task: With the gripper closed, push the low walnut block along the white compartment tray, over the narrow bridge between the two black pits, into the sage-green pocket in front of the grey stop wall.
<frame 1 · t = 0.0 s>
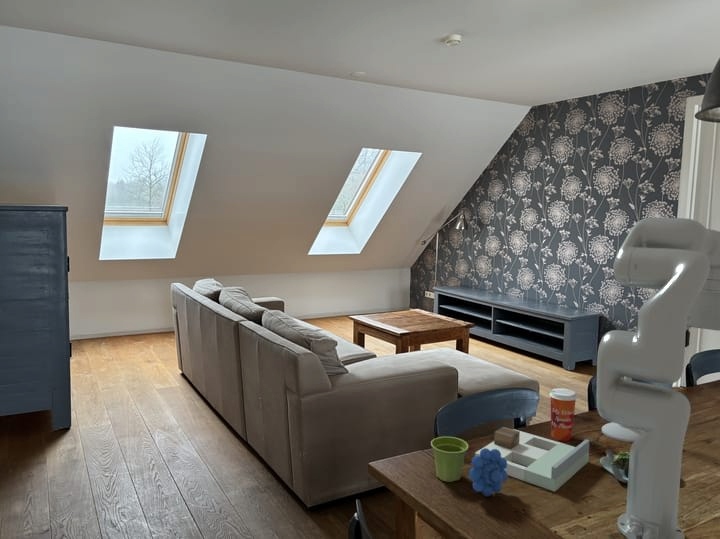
hand: (706, 349, 148), 31 cm above the table, tool pointing down, fingers open, 9 cm apart
plant pot: (448, 477, 142), on the table
grapes: (490, 498, 132), on the table
white compartment tray: (531, 462, 150), on the table
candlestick: (624, 434, 170), on the table
paper cup: (561, 437, 167), on the table
salad plate: (638, 475, 145), on the table
block: (506, 443, 155), point 3 cm above the table, touching white compartment tray
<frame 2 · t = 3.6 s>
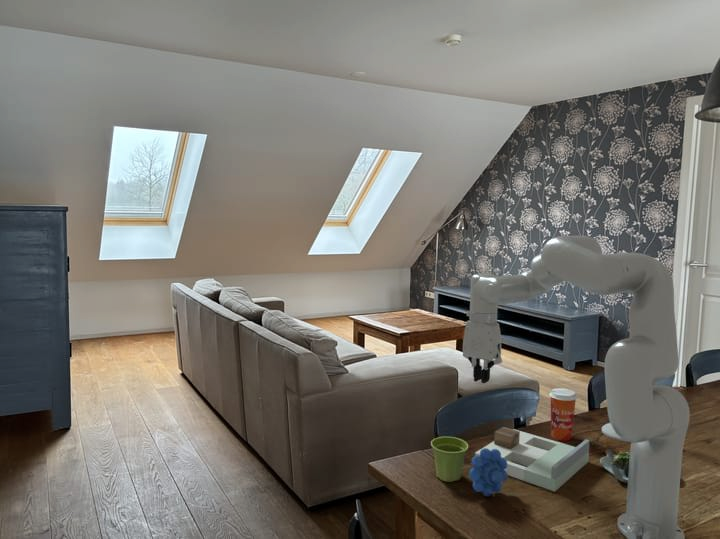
hand: (481, 380, 159), 19 cm above the table, tool pointing down, fingers closed
nothing on the table moved.
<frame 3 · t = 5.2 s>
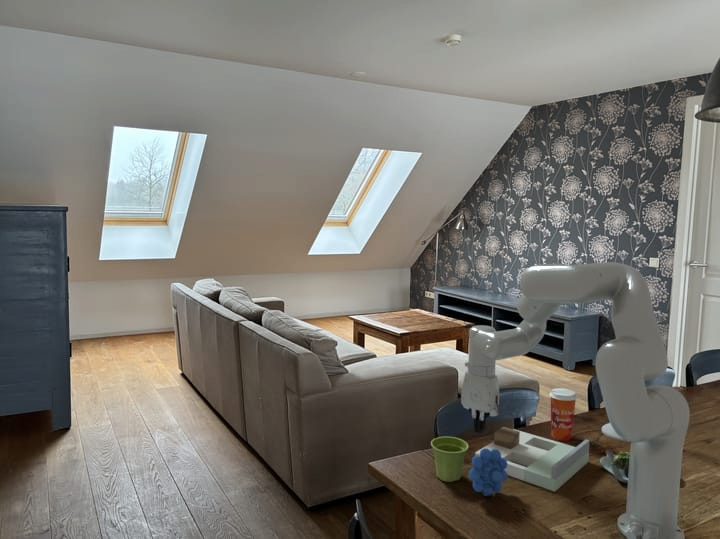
hand: (479, 431, 161), 4 cm above the table, tool pointing down, fingers closed
nothing on the table moved.
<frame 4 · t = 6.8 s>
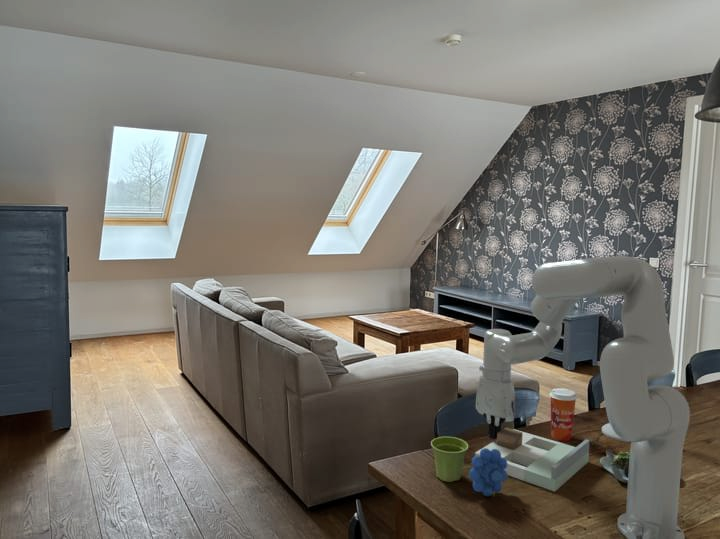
hand: (494, 437, 158), 4 cm above the table, tool pointing down, fingers closed
block: (509, 444, 155), point 3 cm above the table, touching gripper
everything else where it was.
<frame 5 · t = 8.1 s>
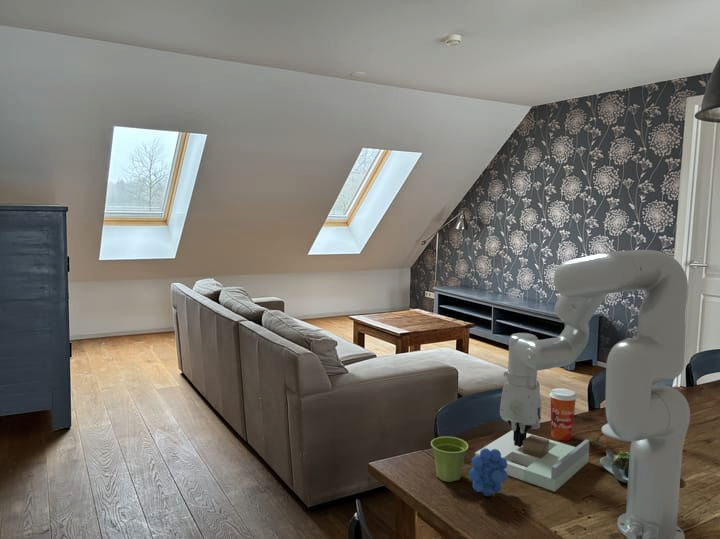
hand: (519, 444, 153), 4 cm above the table, tool pointing down, fingers closed
block: (535, 452, 150), point 3 cm above the table, touching white compartment tray, gripper
everything else where it was.
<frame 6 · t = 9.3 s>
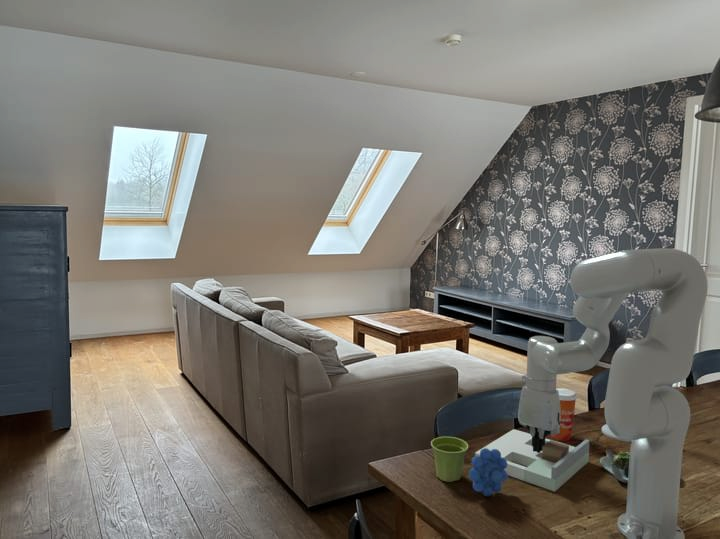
hand: (538, 450, 149), 4 cm above the table, tool pointing down, fingers closed
block: (555, 458, 146), point 3 cm above the table, touching white compartment tray, gripper
everything else where it was.
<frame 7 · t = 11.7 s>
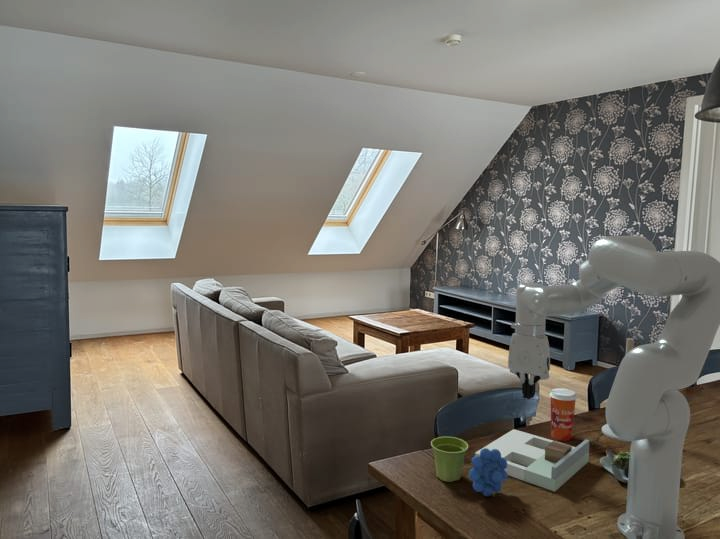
hand: (528, 397, 150), 18 cm above the table, tool pointing down, fingers closed
block: (557, 459, 146), point 3 cm above the table, touching white compartment tray
everything else where it was.
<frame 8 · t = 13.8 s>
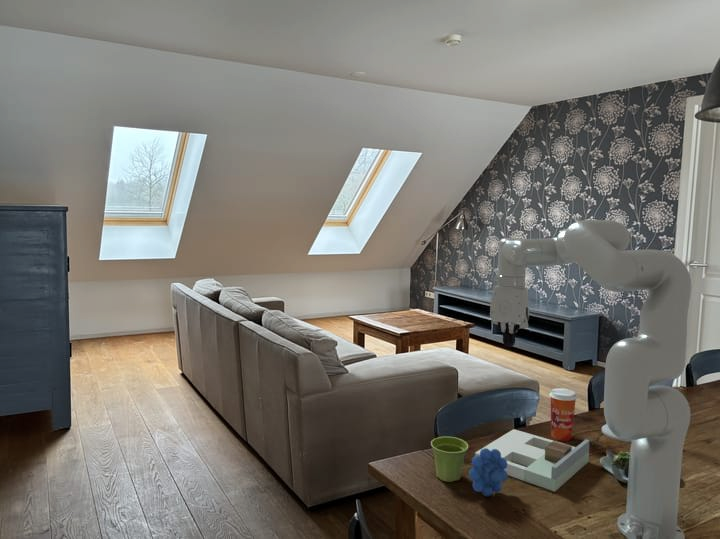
hand: (508, 345, 159), 29 cm above the table, tool pointing down, fingers closed
nothing on the table moved.
at the end: block inside the target area on the white compartment tray (0.3 cm from its centre), point 3.0 cm above the white compartment tray's base; block tilted 0°; block moved 14.4 cm from its start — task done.
